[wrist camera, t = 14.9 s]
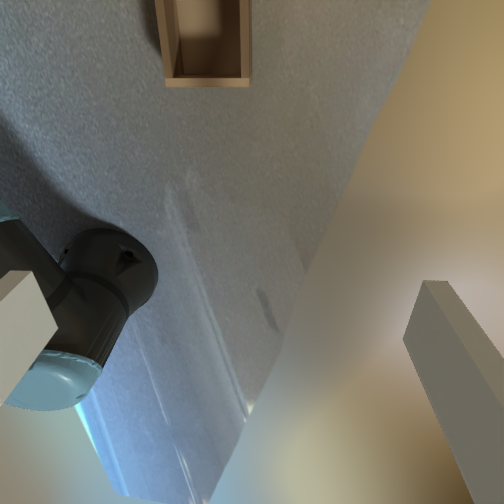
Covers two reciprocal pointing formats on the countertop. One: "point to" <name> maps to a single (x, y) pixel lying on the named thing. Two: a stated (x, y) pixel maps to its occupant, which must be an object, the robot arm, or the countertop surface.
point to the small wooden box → (206, 42)
